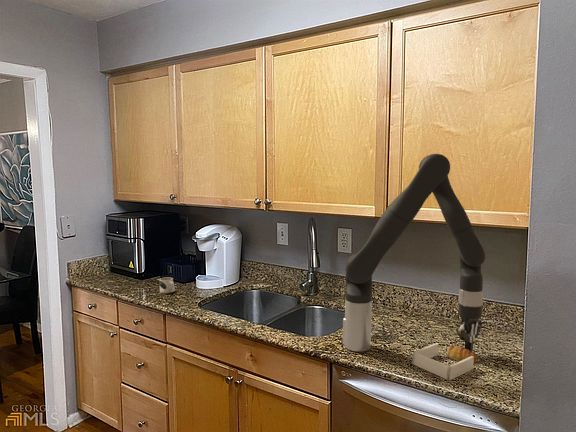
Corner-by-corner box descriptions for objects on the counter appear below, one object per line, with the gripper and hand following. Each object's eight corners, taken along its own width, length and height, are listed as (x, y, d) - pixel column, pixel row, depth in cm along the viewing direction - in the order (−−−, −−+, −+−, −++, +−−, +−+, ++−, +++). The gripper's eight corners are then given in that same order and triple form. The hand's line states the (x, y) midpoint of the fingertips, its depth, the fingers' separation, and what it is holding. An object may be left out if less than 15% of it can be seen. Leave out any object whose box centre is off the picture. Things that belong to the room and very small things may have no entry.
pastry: (479, 359, 145) (479, 348, 144) (474, 366, 139) (475, 355, 139) (450, 352, 150) (450, 341, 150) (445, 359, 145) (445, 348, 144)
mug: (157, 291, 222) (156, 279, 221) (168, 289, 227) (167, 276, 226) (168, 295, 215) (168, 282, 214) (179, 292, 220) (179, 279, 219)
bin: (412, 363, 141) (412, 352, 140) (436, 354, 148) (436, 342, 148) (449, 380, 130) (449, 367, 129) (473, 368, 137) (473, 356, 137)
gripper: (470, 296, 152) (469, 343, 154) (449, 303, 145) (447, 352, 147) (491, 301, 146) (489, 350, 148) (470, 309, 139) (468, 360, 141)
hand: (468, 351), depth 148 cm, fingers closed
